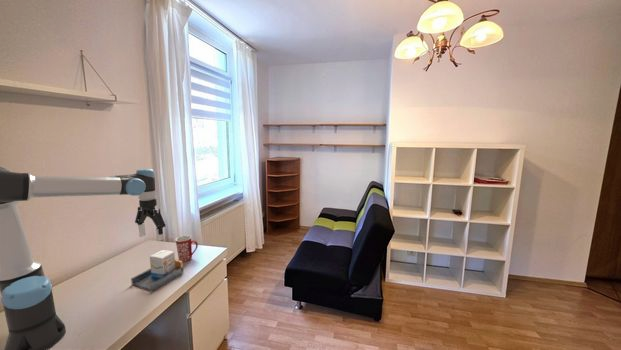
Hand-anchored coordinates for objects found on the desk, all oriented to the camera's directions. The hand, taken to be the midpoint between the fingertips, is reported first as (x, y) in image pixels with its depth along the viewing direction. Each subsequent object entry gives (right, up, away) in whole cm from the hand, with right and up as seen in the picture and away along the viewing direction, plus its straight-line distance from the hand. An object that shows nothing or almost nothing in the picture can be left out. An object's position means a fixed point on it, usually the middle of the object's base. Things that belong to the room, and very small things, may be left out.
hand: (151, 238), depth 132 cm
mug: (+9, -19, +22) cm, 30 cm away
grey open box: (+3, -22, +1) cm, 22 cm away
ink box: (+5, -21, +4) cm, 21 cm away
